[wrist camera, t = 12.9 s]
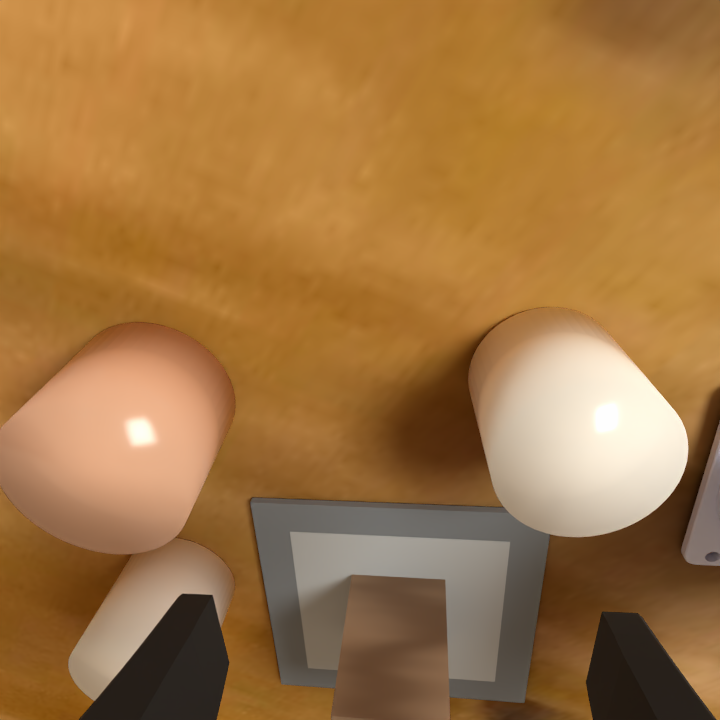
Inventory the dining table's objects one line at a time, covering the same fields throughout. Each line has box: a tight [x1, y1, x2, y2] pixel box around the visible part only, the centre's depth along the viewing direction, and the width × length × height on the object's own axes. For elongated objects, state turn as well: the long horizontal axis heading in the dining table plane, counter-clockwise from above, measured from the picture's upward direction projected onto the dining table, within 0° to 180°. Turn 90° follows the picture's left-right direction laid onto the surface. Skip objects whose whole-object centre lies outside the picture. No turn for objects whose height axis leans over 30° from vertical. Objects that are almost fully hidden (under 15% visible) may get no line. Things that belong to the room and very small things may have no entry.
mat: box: [250, 498, 550, 703], centre depth 25 cm, size 12×12×1 cm
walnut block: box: [331, 574, 450, 720], centre depth 22 cm, size 4×4×6 cm
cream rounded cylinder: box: [468, 307, 688, 537], centre depth 17 cm, size 5×5×5 cm
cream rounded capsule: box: [68, 538, 235, 701], centre depth 24 cm, size 5×5×5 cm
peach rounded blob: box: [0, 322, 236, 554], centre depth 19 cm, size 6×6×5 cm
